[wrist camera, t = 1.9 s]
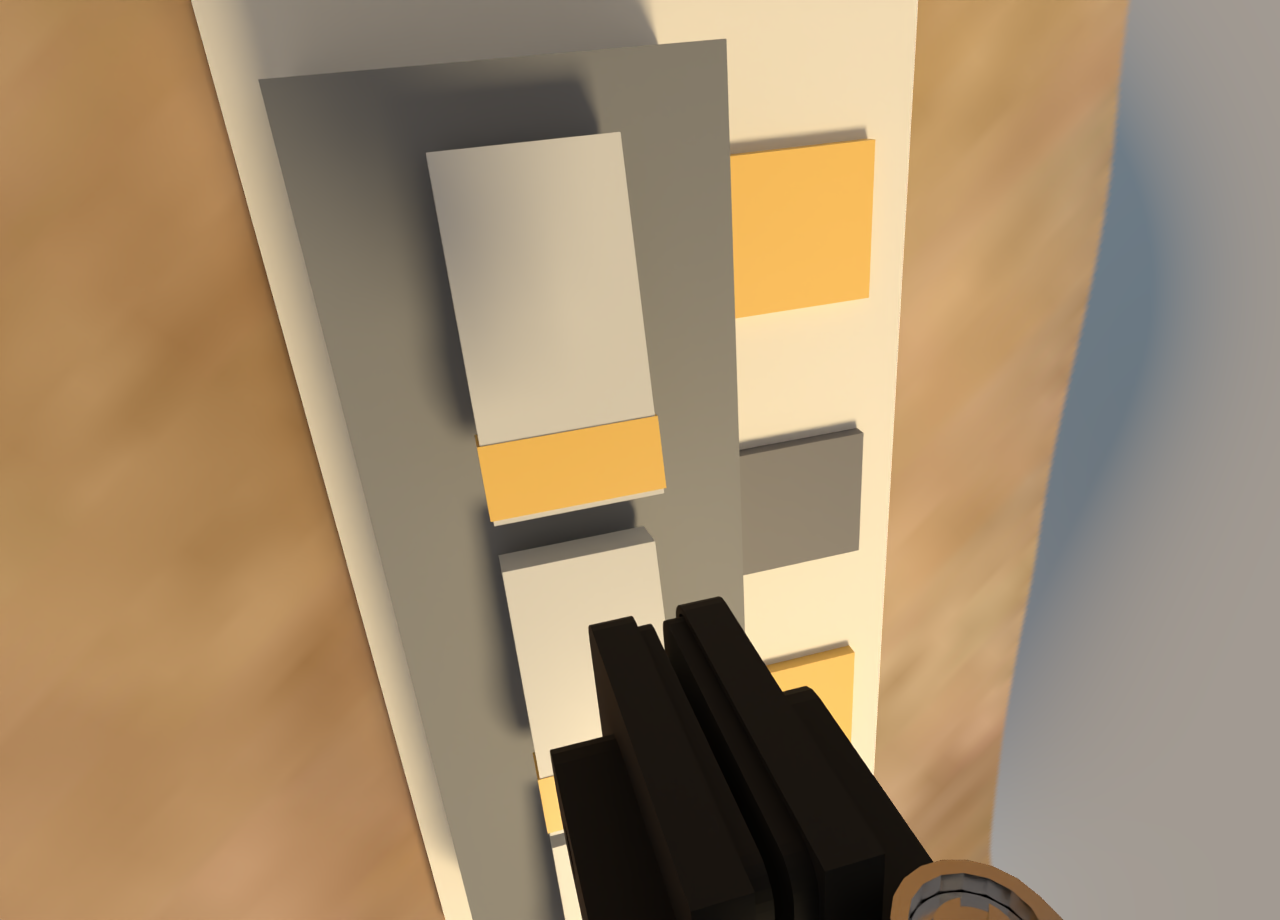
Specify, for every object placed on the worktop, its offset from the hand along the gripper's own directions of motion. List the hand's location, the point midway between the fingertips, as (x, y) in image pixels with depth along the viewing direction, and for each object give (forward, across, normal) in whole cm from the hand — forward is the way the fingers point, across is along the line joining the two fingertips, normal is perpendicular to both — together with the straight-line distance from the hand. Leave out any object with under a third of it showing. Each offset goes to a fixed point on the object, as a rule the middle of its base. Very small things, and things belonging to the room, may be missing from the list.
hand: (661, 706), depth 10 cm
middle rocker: (+7, 0, +5) cm, 8 cm away
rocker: (+7, 0, -3) cm, 7 cm away
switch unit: (+14, -2, +5) cm, 15 cm away
